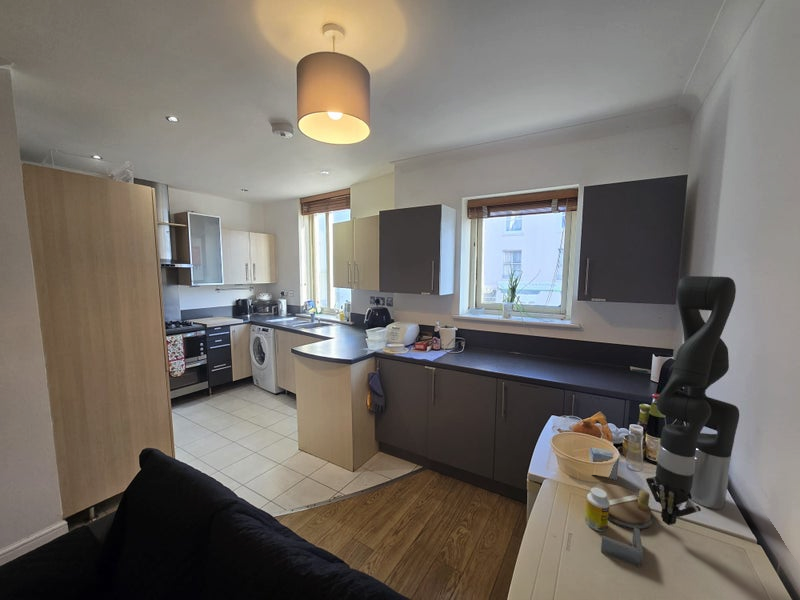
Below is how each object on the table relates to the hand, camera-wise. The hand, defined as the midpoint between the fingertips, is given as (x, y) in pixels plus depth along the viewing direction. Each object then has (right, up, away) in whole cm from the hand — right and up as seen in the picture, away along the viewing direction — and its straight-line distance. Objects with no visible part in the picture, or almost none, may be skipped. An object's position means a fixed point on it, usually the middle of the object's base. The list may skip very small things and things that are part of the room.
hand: (667, 522), depth 87 cm
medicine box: (-2, -1, +26) cm, 26 cm away
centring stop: (-15, -5, -6) cm, 17 cm away
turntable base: (-6, -3, +10) cm, 12 cm away
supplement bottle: (-17, -4, +4) cm, 18 cm away
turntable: (-6, -2, +10) cm, 12 cm away
